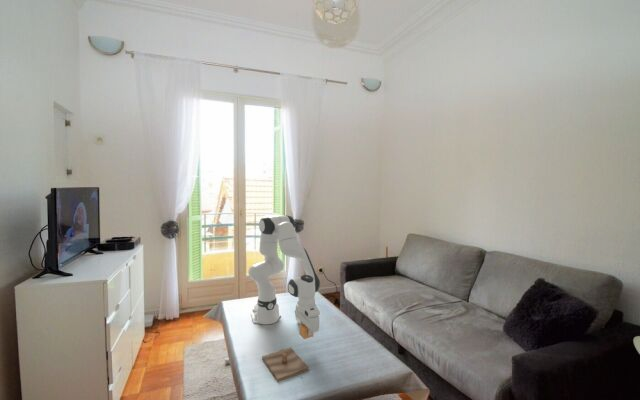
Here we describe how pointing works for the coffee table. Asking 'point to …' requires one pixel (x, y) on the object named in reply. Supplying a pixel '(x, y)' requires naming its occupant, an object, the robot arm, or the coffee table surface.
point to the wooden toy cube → (304, 332)
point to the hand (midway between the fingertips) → (306, 331)
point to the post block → (284, 364)
